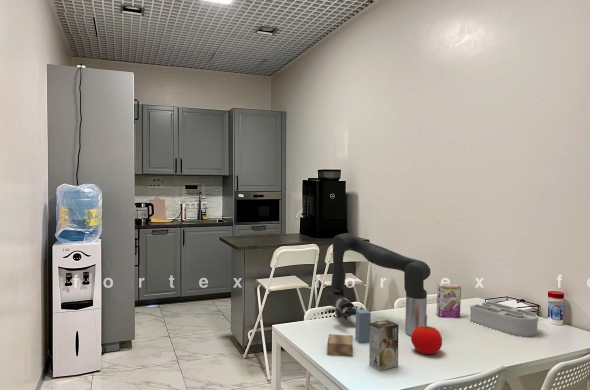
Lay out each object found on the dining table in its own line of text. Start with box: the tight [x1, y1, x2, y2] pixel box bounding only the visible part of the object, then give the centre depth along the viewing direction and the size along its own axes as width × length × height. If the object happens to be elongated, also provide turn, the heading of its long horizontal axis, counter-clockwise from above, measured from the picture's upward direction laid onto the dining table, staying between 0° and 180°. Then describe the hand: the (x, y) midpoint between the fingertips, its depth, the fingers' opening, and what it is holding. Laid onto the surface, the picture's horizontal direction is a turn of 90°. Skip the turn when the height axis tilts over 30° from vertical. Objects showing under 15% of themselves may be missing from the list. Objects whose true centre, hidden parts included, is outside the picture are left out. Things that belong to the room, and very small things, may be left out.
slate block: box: [354, 308, 372, 344], centre depth 184 cm, size 5×5×13 cm
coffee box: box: [368, 319, 399, 372], centre depth 159 cm, size 9×6×16 cm
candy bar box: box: [436, 283, 462, 318], centre depth 220 cm, size 11×5×16 cm, turn 84°
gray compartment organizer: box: [469, 300, 539, 338], centre depth 204 cm, size 17×28×9 cm, turn 34°
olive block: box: [375, 317, 390, 322], centre depth 173 cm, size 5×5×13 cm
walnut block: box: [326, 333, 354, 357], centre depth 173 cm, size 10×10×5 cm
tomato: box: [410, 325, 443, 355], centre depth 173 cm, size 11×12×10 cm
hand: (355, 317), depth 194 cm, fingers open, 8 cm apart
